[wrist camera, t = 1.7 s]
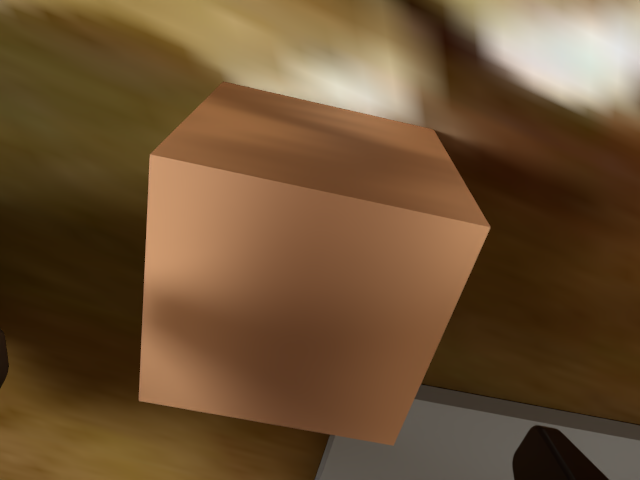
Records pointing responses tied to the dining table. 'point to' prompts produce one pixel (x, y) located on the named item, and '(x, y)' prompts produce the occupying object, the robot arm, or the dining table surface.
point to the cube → (300, 263)
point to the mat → (476, 441)
